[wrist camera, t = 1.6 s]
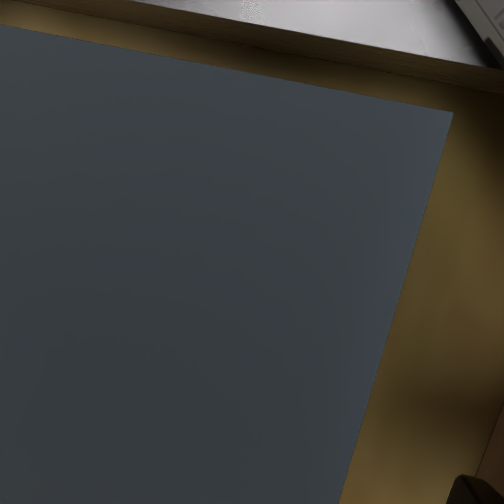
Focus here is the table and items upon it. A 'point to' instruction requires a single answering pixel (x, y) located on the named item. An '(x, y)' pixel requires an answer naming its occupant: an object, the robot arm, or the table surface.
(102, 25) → the table surface
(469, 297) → the table surface
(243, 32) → the rack
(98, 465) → the grey panel
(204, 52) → the table surface
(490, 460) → the offcut pile
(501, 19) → the candy bar box
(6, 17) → the table surface
